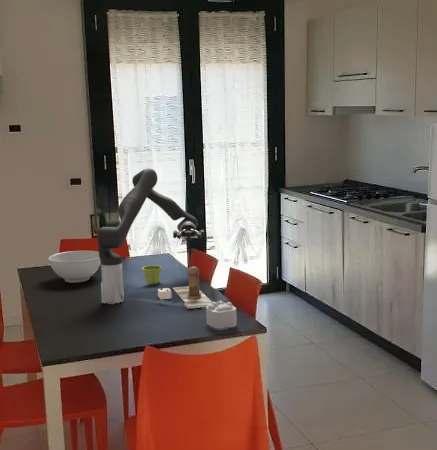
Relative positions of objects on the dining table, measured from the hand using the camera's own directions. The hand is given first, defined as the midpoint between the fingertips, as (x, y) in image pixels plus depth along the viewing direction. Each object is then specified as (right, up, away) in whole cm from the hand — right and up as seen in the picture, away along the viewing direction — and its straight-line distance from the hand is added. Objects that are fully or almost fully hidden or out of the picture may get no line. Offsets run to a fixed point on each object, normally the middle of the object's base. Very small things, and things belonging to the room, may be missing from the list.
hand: (189, 236), depth 291 cm
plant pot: (-19, -24, +22) cm, 37 cm away
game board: (+2, -27, -3) cm, 28 cm away
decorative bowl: (-58, -22, +36) cm, 72 cm away
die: (-10, -28, -5) cm, 31 cm away
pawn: (+3, -27, -7) cm, 28 cm away
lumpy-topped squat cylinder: (+14, -34, -39) cm, 54 cm away
